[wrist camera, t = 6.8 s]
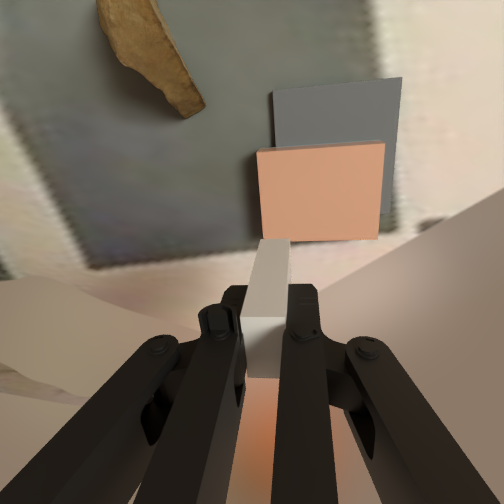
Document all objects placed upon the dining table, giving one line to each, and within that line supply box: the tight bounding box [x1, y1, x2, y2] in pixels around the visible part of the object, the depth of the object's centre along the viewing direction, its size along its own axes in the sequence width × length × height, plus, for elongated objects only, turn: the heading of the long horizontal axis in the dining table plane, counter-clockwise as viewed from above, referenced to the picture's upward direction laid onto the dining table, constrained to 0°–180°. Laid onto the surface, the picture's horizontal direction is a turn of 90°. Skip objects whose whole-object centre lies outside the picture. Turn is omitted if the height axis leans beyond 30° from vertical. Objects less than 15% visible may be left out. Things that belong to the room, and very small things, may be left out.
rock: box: [96, 0, 206, 118], centre depth 25 cm, size 11×9×10 cm
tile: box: [257, 140, 385, 241], centre depth 29 cm, size 2×8×10 cm
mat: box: [273, 77, 402, 214], centre depth 29 cm, size 10×11×1 cm
